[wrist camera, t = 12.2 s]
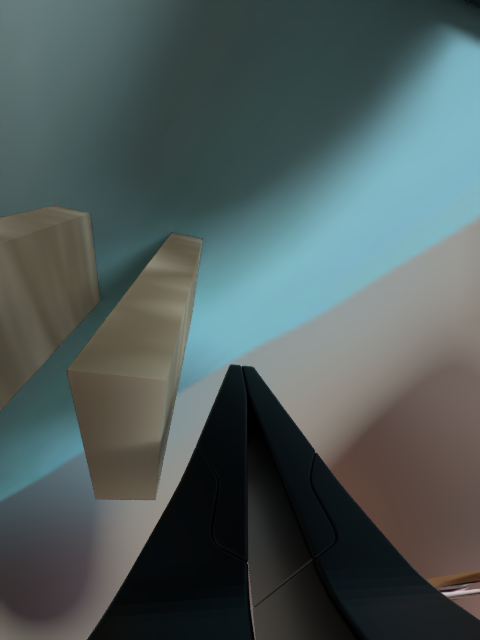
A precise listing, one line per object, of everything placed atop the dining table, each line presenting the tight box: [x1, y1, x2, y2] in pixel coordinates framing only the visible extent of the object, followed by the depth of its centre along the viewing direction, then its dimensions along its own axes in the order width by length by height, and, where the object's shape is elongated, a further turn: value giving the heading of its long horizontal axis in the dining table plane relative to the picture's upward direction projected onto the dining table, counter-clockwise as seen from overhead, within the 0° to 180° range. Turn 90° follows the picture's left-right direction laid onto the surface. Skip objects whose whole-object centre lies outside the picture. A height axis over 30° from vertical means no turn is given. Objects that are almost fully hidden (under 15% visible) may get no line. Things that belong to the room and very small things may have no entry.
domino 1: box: [0, 206, 100, 411], centre depth 8 cm, size 2×5×10 cm, turn 168°
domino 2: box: [67, 232, 203, 500], centre depth 9 cm, size 2×5×10 cm, turn 167°
